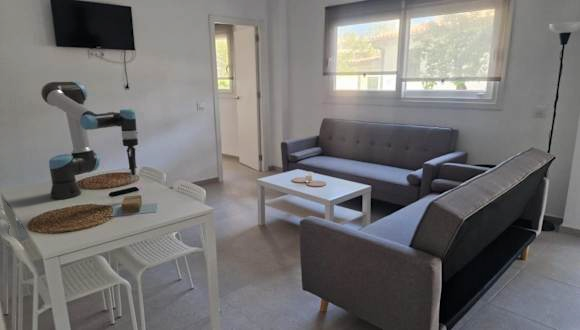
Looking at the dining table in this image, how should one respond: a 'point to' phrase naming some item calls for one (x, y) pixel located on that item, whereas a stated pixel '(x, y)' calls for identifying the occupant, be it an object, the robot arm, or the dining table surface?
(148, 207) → the mat
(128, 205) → the walnut block
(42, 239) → the dining table surface
